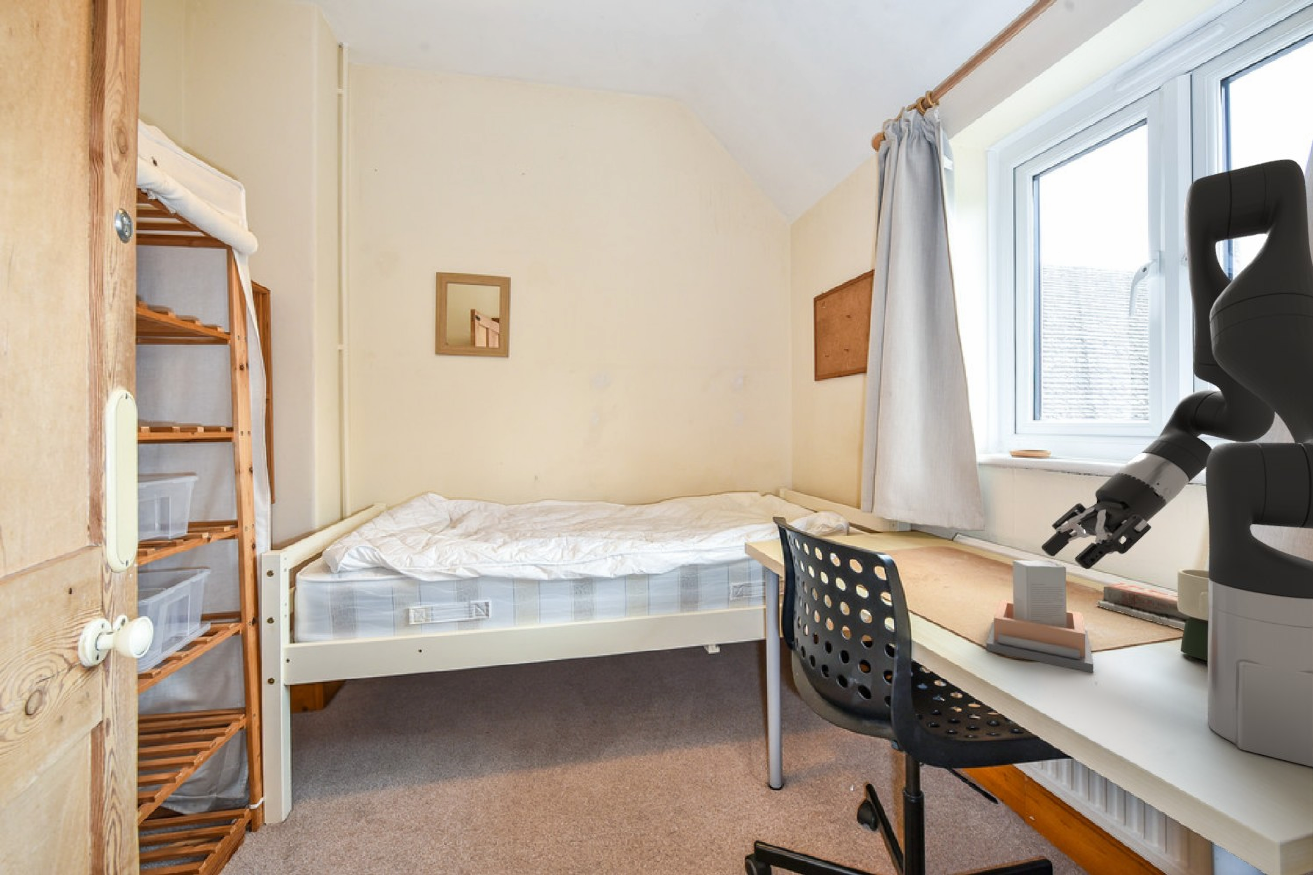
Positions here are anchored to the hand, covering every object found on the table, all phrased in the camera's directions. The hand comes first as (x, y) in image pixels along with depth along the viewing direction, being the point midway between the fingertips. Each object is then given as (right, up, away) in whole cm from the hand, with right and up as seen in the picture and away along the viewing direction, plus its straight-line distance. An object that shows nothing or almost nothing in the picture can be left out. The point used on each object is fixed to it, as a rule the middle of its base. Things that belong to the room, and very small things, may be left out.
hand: (1062, 558), depth 85 cm
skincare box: (-3, -13, +1) cm, 14 cm away
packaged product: (+29, -15, +13) cm, 35 cm away
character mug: (+18, -14, -6) cm, 24 cm away
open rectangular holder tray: (-3, -14, +1) cm, 15 cm away
